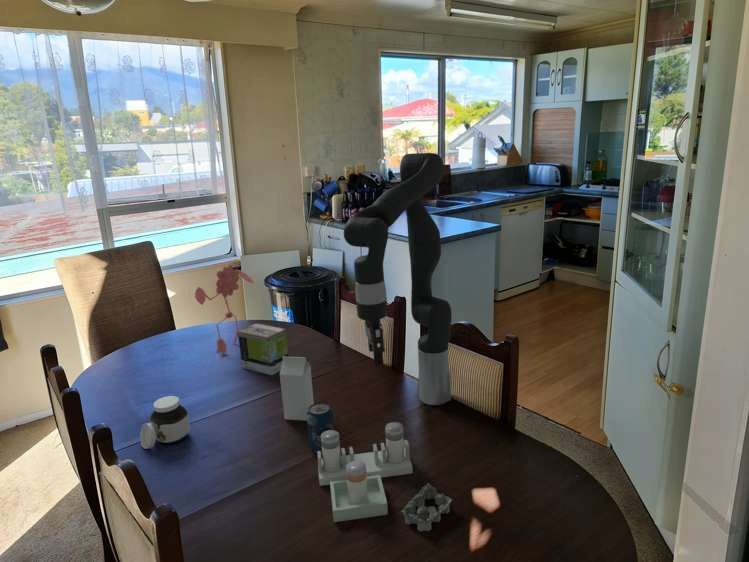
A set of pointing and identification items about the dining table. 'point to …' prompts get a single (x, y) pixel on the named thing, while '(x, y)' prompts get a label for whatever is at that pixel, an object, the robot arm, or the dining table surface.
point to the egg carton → (423, 511)
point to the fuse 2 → (394, 442)
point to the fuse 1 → (331, 451)
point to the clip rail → (367, 464)
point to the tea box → (263, 348)
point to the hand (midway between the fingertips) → (376, 357)
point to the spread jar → (165, 423)
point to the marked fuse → (356, 483)
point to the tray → (371, 509)
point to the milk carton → (296, 387)
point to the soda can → (318, 424)
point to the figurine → (224, 287)
